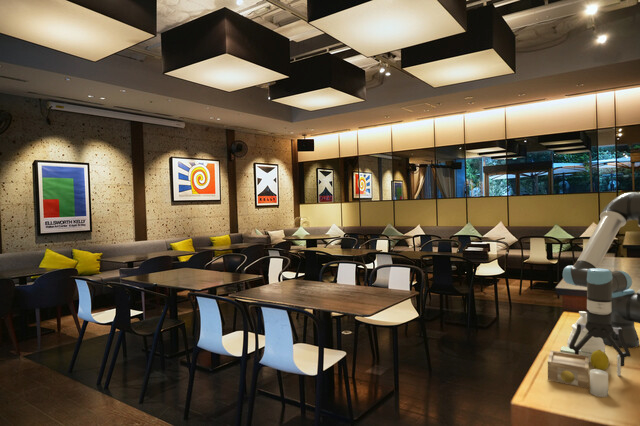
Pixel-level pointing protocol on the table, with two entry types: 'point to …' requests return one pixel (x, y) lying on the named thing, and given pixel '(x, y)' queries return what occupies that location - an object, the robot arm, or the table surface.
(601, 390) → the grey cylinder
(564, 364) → the wooden crate
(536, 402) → the table surface
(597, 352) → the lemon
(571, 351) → the sage cube
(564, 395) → the table surface
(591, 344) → the honey pot
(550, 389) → the table surface
